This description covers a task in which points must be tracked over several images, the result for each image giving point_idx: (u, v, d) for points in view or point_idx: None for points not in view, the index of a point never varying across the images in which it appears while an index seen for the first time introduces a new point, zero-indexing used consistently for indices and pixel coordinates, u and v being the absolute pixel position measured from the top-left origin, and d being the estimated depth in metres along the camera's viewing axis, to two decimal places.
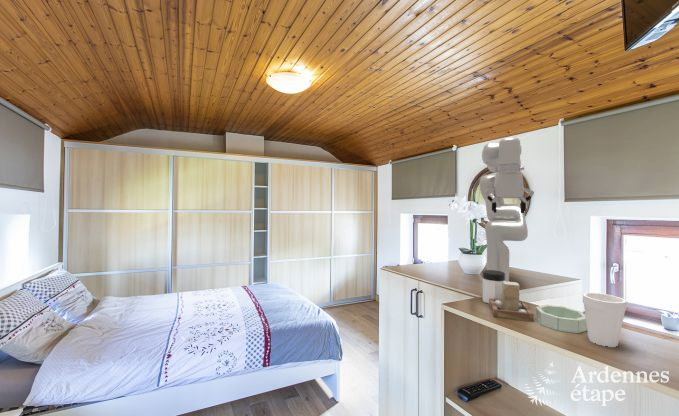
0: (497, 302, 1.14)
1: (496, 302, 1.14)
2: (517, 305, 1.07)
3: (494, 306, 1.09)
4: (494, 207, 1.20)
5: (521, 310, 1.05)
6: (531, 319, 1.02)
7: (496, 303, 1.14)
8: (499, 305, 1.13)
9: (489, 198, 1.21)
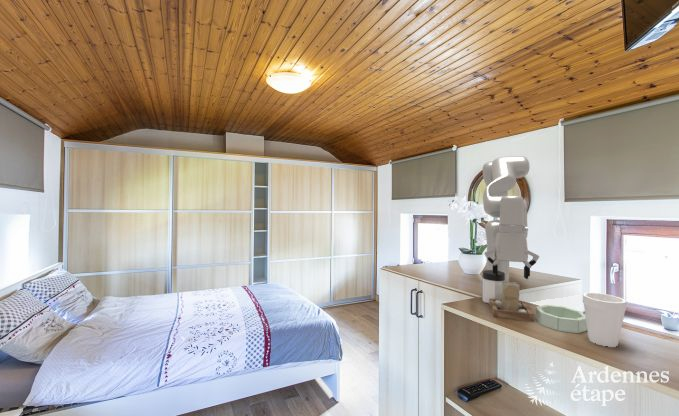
0: (497, 302, 1.14)
1: (496, 302, 1.14)
2: (517, 305, 1.07)
3: (494, 306, 1.09)
4: (495, 270, 1.10)
5: (521, 310, 1.05)
6: (531, 319, 1.02)
7: (496, 303, 1.14)
8: (499, 305, 1.13)
9: (490, 260, 1.11)
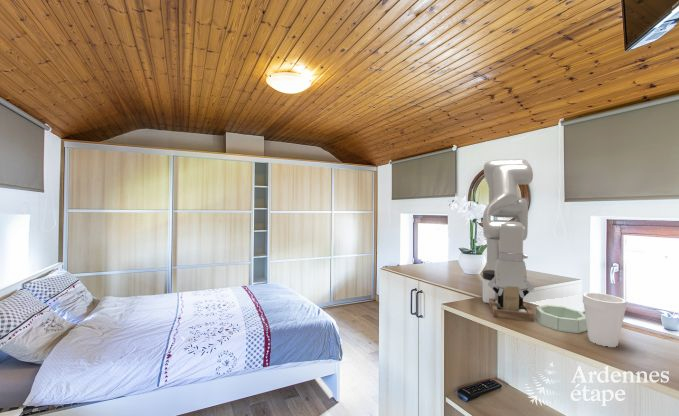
0: (497, 302, 1.14)
1: (496, 302, 1.14)
2: (517, 305, 1.07)
3: (494, 306, 1.09)
4: (500, 300, 1.10)
5: (521, 310, 1.05)
6: (531, 319, 1.02)
7: (496, 303, 1.14)
8: (499, 305, 1.13)
9: (495, 290, 1.11)
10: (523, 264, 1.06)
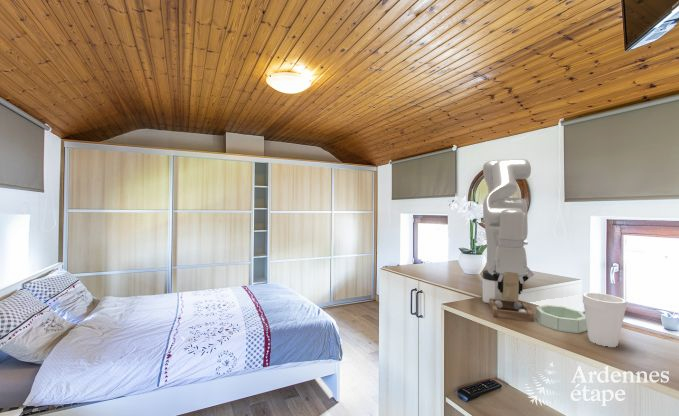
0: (497, 301, 1.14)
1: (496, 302, 1.14)
2: (517, 291, 1.08)
3: (494, 306, 1.09)
4: (500, 287, 1.11)
5: (521, 310, 1.05)
6: (531, 319, 1.02)
7: (496, 302, 1.14)
8: (499, 304, 1.13)
9: (495, 276, 1.11)
10: (523, 250, 1.07)
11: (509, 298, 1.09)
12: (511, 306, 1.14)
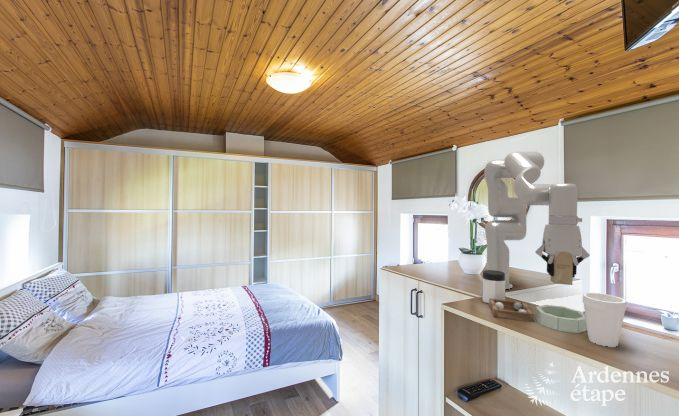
0: (498, 308, 1.12)
1: (497, 307, 1.12)
2: (571, 273, 0.97)
3: (494, 306, 1.09)
4: (551, 269, 1.00)
5: (521, 310, 1.05)
6: (531, 319, 1.02)
7: (497, 308, 1.12)
8: None
9: (544, 258, 1.01)
10: (578, 228, 0.96)
11: (561, 282, 0.98)
12: (511, 306, 1.14)
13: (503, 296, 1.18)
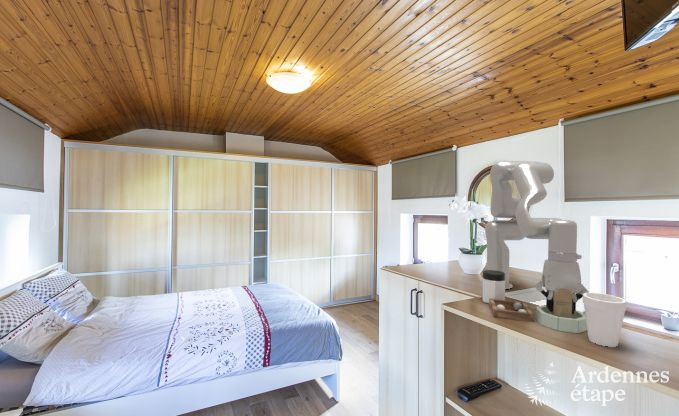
0: None
1: None
2: (570, 310, 0.97)
3: (494, 306, 1.09)
4: (550, 305, 1.00)
5: (521, 310, 1.05)
6: (531, 319, 1.02)
7: None
8: None
9: (544, 293, 1.01)
10: (577, 265, 0.97)
11: None
12: (511, 306, 1.14)
13: (503, 296, 1.18)
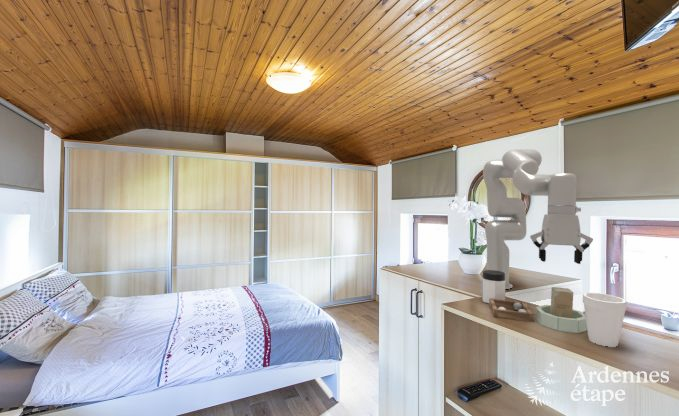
0: None
1: None
2: (570, 314, 0.97)
3: (494, 306, 1.09)
4: (543, 255, 1.01)
5: (521, 310, 1.05)
6: (531, 319, 1.02)
7: (499, 307, 1.08)
8: (502, 307, 1.07)
9: (536, 244, 1.02)
10: (576, 217, 0.97)
11: None
12: (511, 306, 1.14)
13: (503, 296, 1.18)
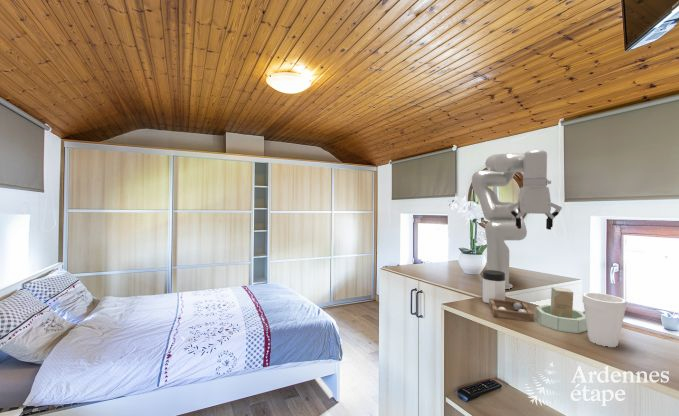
0: None
1: None
2: (570, 314, 0.97)
3: (494, 306, 1.09)
4: (519, 223, 1.15)
5: (521, 310, 1.05)
6: (531, 319, 1.02)
7: (499, 307, 1.08)
8: (502, 307, 1.08)
9: (513, 213, 1.16)
10: (547, 188, 1.11)
11: None
12: (511, 306, 1.14)
13: (503, 296, 1.18)
